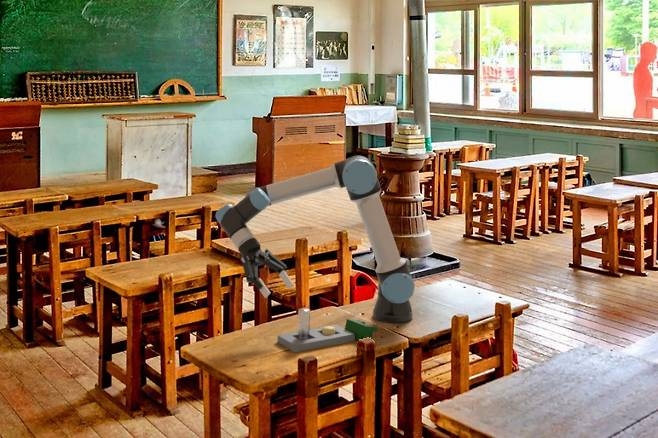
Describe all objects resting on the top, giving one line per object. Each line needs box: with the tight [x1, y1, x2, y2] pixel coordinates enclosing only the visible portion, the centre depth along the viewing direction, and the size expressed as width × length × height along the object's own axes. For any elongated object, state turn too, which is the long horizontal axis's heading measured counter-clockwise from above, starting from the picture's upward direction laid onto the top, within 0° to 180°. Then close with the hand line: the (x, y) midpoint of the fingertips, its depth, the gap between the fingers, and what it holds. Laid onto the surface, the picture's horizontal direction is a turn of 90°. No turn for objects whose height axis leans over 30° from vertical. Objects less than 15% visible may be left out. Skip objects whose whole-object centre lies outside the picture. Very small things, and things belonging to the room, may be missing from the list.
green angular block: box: [344, 318, 379, 341], centre depth 289 cm, size 12×6×9 cm
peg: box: [297, 307, 311, 341], centre depth 280 cm, size 4×4×12 cm
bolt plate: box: [277, 324, 356, 353], centre depth 284 cm, size 24×12×4 cm, turn 122°
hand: (280, 291), depth 284 cm, fingers open, 13 cm apart
